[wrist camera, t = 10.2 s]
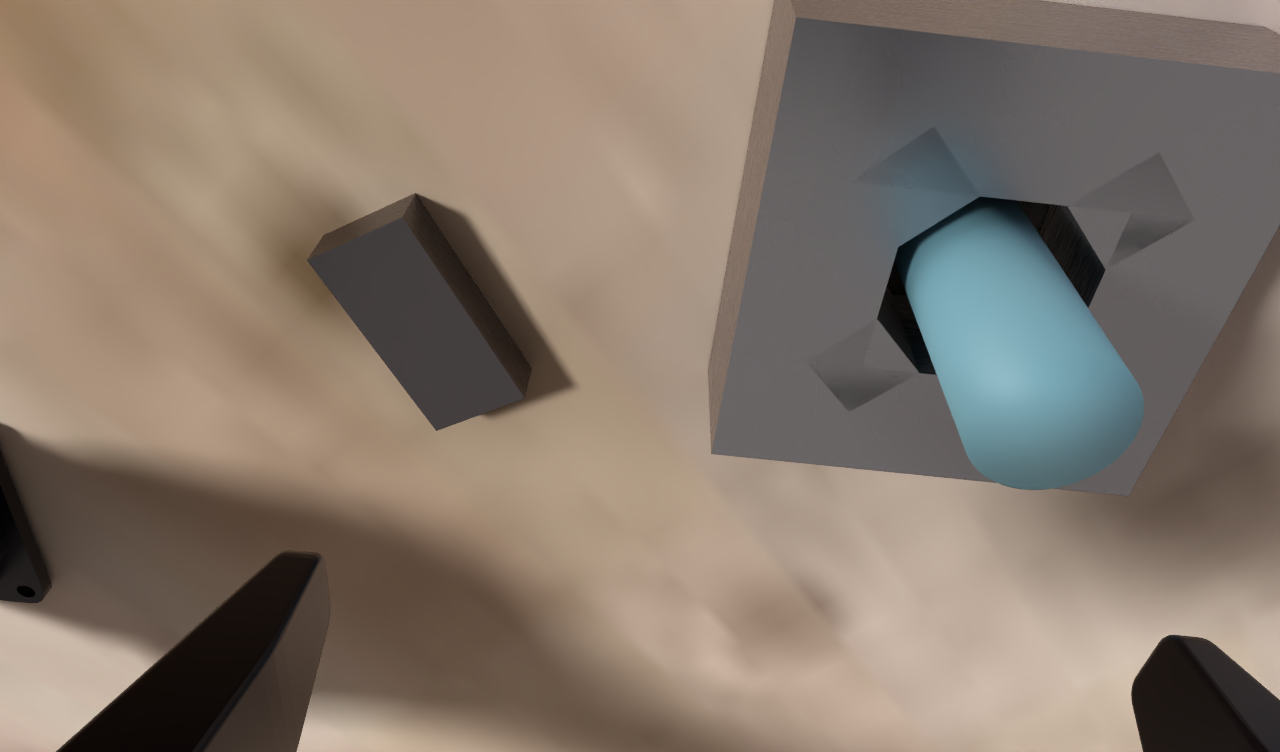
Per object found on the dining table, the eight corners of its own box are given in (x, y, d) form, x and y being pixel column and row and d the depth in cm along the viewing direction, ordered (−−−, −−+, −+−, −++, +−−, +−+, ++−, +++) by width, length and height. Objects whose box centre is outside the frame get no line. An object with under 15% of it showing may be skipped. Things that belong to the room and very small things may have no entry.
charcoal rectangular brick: (533, 361, 23) (524, 398, 22) (449, 392, 24) (436, 430, 22) (419, 185, 20) (402, 217, 19) (329, 227, 21) (307, 260, 20)
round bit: (988, 276, 21) (1102, 497, 15) (870, 264, 21) (941, 480, 15) (1028, 165, 19) (1174, 364, 14) (901, 150, 19) (995, 344, 13)
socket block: (1081, 409, 23) (1128, 496, 20) (708, 370, 22) (711, 454, 20) (1264, 26, 17) (1359, 82, 15) (780, -31, 17) (795, 17, 15)
